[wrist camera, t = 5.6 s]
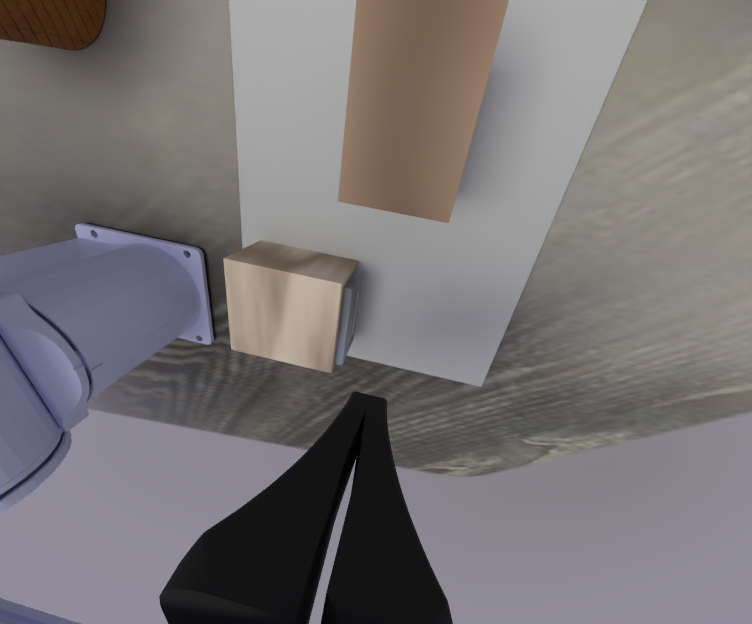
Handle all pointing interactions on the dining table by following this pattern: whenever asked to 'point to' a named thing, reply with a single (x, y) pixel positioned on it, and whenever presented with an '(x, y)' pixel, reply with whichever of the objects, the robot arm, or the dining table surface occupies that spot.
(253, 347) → the beech block
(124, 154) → the dining table surface
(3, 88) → the dining table surface
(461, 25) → the walnut block
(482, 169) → the grey mat
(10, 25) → the disposable coffee cup
